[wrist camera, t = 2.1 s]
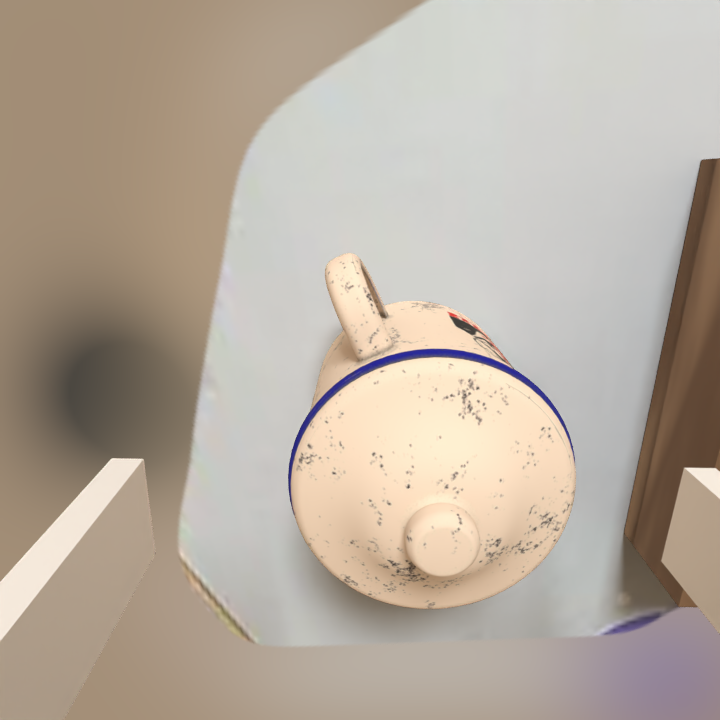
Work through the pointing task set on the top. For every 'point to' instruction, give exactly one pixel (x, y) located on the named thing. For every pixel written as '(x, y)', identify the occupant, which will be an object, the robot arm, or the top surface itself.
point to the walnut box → (683, 387)
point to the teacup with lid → (425, 455)
